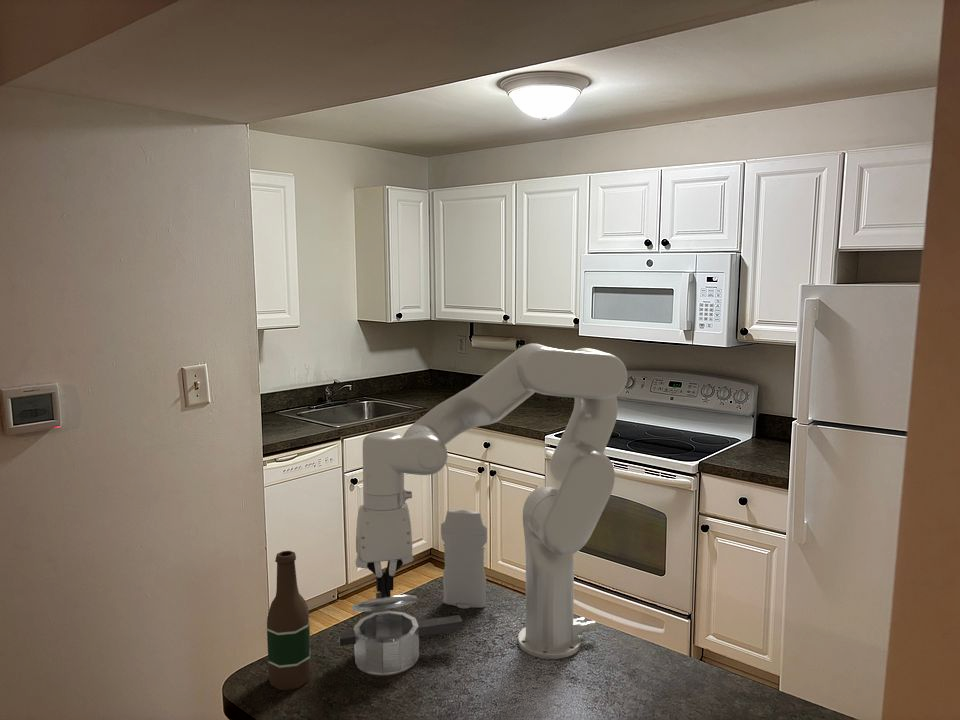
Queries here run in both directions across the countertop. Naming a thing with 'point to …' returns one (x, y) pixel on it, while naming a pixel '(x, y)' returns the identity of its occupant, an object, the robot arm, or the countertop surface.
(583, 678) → the countertop surface
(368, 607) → the lid
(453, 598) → the tall pale column
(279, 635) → the beer bottle
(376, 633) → the pot
